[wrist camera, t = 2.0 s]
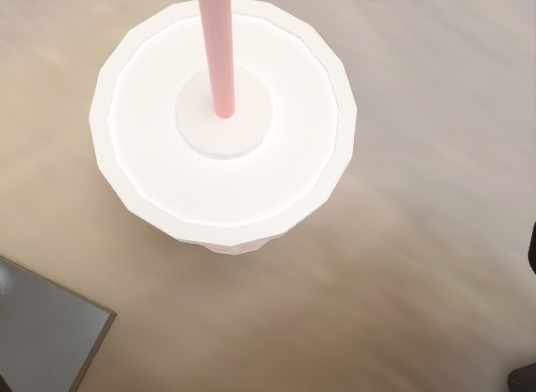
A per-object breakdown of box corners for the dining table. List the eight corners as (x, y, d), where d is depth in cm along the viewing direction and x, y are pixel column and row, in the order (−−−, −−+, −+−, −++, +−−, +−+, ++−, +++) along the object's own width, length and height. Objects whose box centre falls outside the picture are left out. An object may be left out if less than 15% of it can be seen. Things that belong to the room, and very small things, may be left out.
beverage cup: (157, 278, 19) (-63, 202, 5) (156, 131, 20) (-21, -232, 7) (312, 270, 19) (481, 179, 6) (301, 126, 21) (415, -228, 7)
